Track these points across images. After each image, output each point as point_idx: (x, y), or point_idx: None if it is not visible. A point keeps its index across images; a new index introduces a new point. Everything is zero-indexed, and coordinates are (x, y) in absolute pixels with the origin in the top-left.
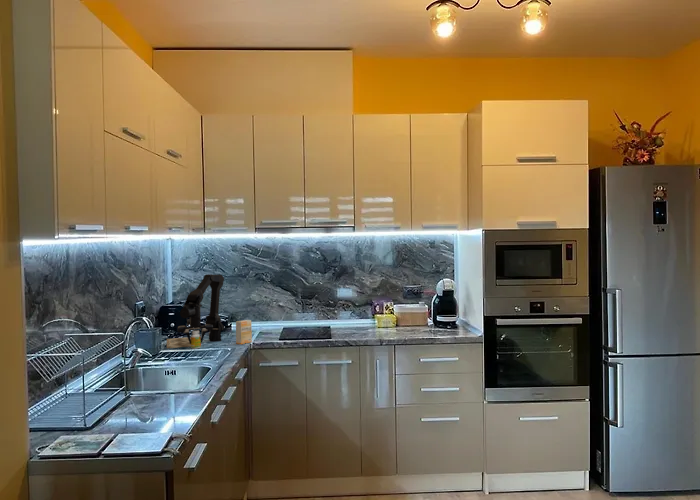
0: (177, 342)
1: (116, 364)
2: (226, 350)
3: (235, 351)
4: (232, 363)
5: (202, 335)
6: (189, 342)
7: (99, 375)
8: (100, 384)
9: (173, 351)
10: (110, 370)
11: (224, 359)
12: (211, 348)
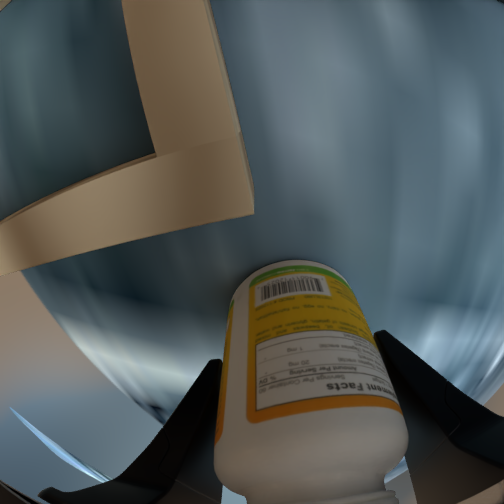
0: (4, 234)
1: (53, 442)
2: (472, 384)
3: (486, 393)
4: (400, 473)
5: (415, 459)
6: (156, 230)
7: (98, 477)
8: None
9: (112, 382)
10: (89, 468)
11: (398, 464)
12: (432, 345)
